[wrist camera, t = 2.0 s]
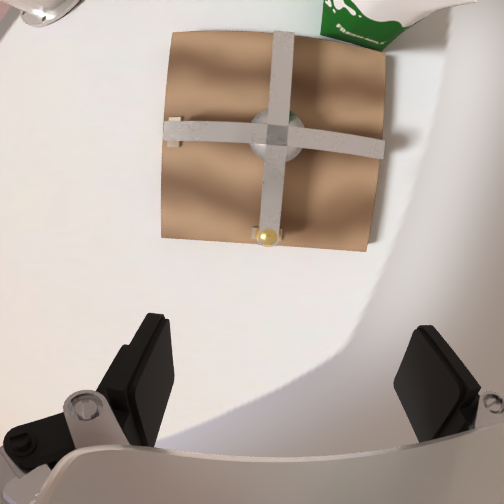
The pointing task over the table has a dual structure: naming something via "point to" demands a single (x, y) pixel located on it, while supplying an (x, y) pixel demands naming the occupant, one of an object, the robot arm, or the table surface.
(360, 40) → the milk carton
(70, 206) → the table surface
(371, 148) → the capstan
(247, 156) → the stand plate
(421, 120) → the table surface
